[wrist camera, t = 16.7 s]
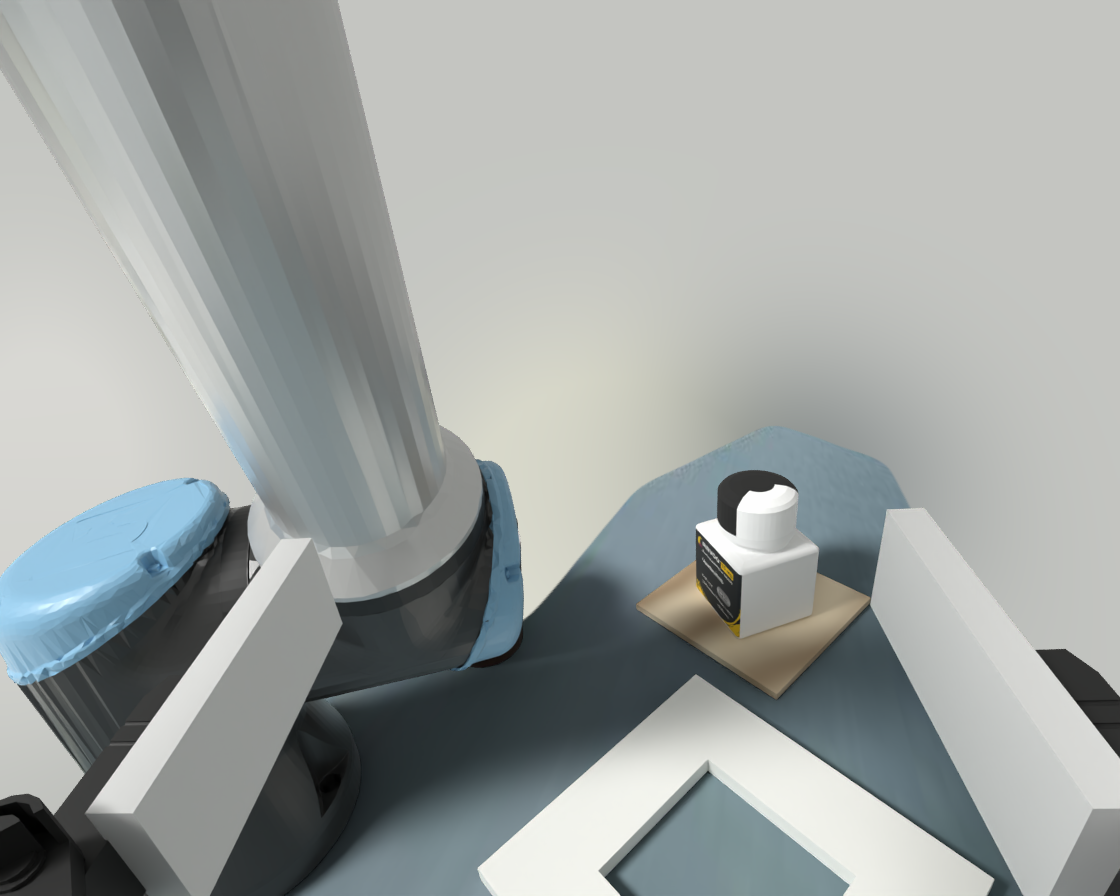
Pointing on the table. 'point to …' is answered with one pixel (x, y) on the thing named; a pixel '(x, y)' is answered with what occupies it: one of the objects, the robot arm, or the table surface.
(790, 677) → the oak board
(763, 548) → the medicine bottle
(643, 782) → the collar board
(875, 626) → the table surface
